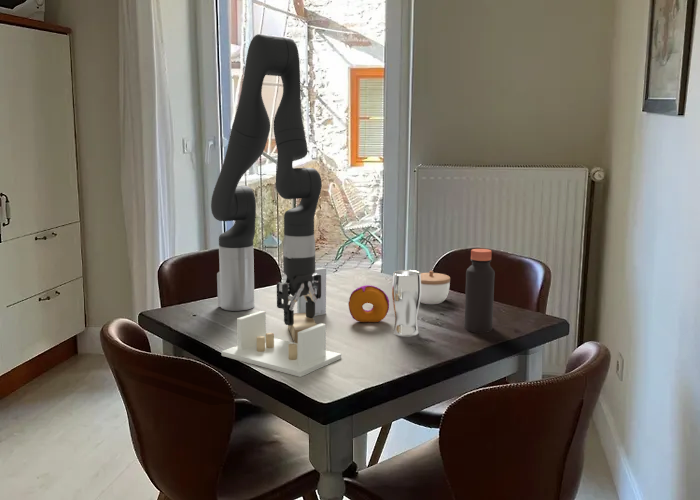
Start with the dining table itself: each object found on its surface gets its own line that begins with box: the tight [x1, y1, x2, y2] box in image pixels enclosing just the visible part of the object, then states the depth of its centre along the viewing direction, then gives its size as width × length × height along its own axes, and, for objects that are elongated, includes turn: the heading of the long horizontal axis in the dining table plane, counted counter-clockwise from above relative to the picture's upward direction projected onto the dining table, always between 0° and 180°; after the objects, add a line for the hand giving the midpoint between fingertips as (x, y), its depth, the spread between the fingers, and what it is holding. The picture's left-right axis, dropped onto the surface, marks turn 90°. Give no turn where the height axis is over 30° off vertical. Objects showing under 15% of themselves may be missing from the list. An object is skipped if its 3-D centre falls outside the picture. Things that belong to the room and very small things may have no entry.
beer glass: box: [391, 269, 422, 338], centre depth 169 cm, size 7×7×15 cm
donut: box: [348, 284, 390, 323], centre depth 178 cm, size 8×9×10 cm
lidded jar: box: [420, 270, 451, 305], centre depth 198 cm, size 11×11×9 cm
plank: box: [287, 312, 317, 343], centre depth 168 cm, size 14×6×4 cm, turn 12°
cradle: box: [221, 310, 342, 378], centre depth 152 cm, size 22×14×8 cm, turn 55°
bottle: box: [463, 248, 496, 334], centre depth 171 cm, size 7×7×20 cm
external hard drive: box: [296, 267, 327, 317], centre depth 184 cm, size 2×8×12 cm, turn 123°
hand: (299, 321), depth 168 cm, fingers open, 7 cm apart
